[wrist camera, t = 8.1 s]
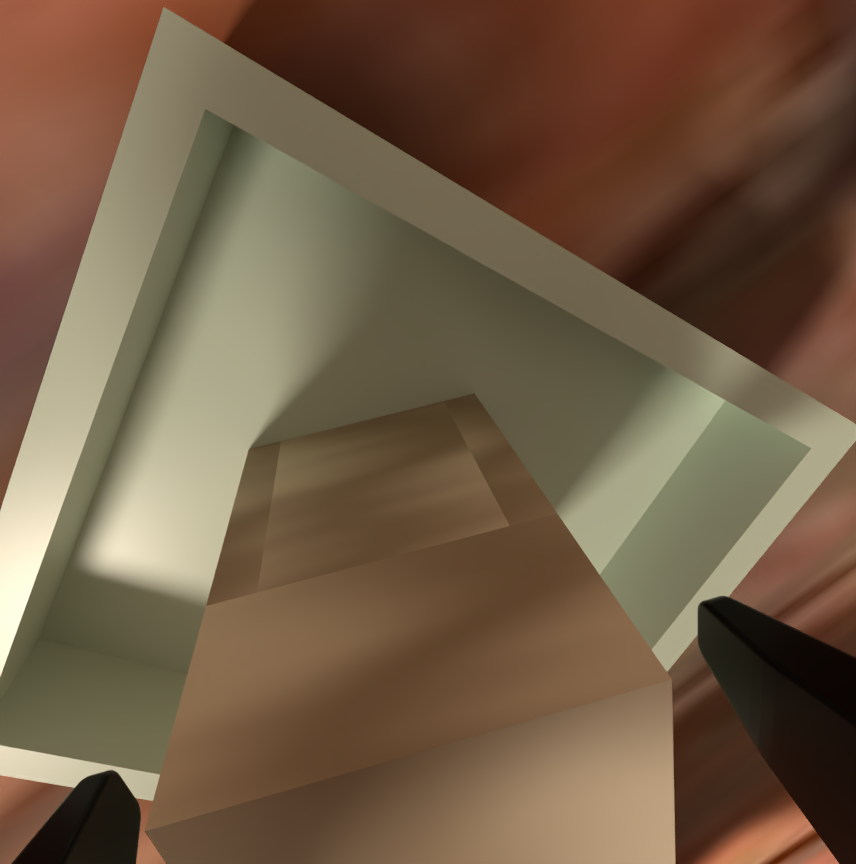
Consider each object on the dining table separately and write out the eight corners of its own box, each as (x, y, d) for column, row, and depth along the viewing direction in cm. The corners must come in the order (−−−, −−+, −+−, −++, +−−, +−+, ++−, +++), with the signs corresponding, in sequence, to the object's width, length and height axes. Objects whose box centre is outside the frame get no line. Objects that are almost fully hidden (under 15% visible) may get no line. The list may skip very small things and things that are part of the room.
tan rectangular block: (474, 393, 13) (672, 679, 6) (505, 571, 15) (676, 947, 8) (248, 448, 12) (144, 831, 5) (313, 623, 15) (303, 1066, 7)
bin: (747, 374, 15) (864, 429, 11) (480, 744, 19) (512, 861, 15) (213, 59, 10) (163, 6, 7) (9, 629, 14) (-82, 761, 11)
